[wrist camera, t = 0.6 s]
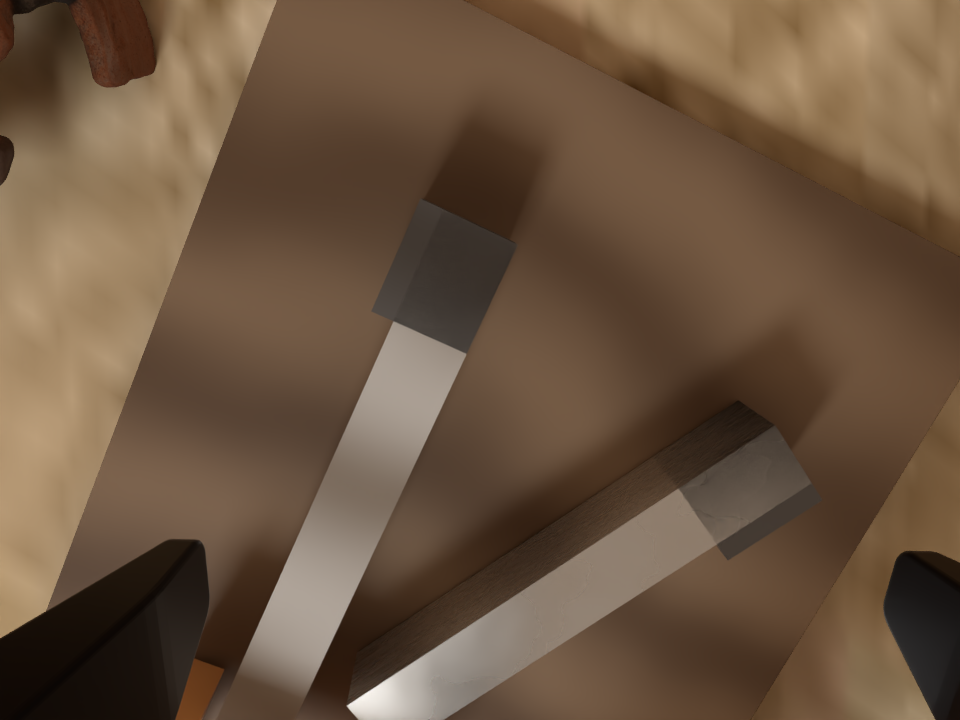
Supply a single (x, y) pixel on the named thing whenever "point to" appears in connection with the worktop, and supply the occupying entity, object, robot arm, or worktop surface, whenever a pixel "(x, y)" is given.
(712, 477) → the bar
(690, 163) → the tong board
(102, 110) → the worktop surface
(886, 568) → the worktop surface
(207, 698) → the orange rectangular block
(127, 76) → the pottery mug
